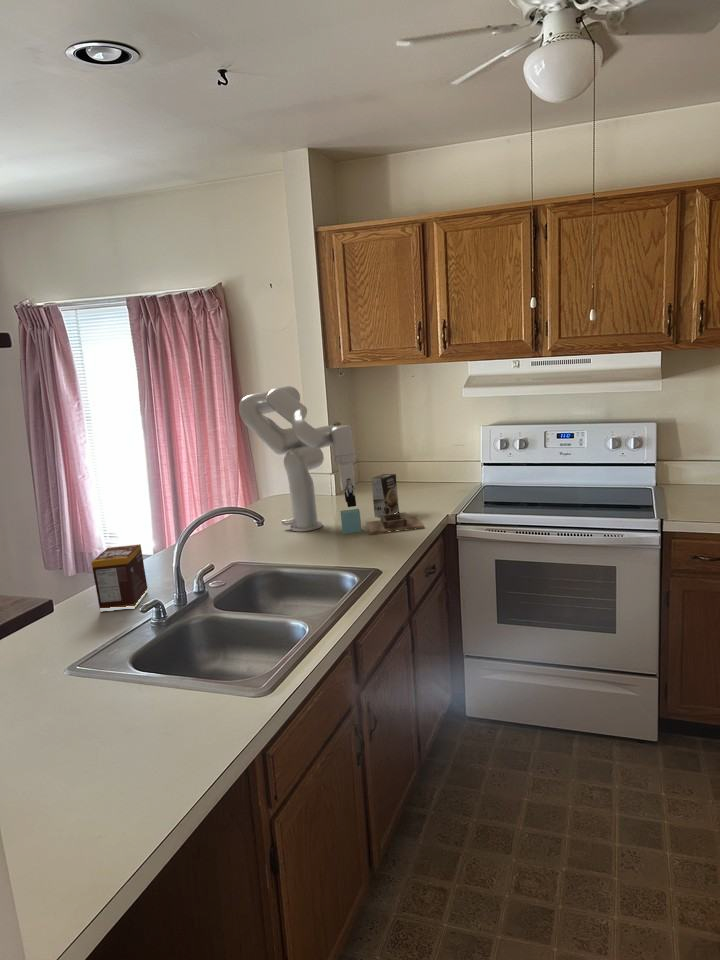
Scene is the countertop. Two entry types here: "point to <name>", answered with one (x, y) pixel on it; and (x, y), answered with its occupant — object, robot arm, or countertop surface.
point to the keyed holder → (393, 523)
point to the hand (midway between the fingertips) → (351, 504)
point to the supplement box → (119, 576)
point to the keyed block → (351, 521)
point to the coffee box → (385, 494)
